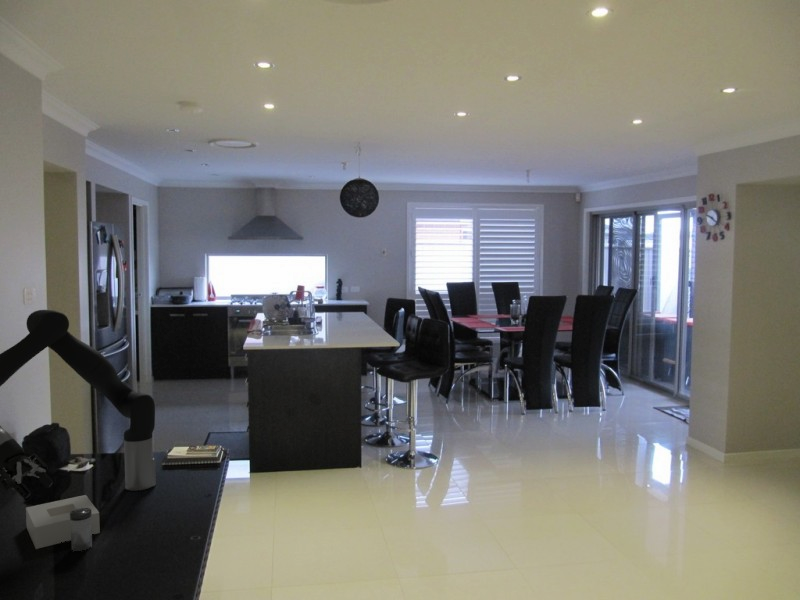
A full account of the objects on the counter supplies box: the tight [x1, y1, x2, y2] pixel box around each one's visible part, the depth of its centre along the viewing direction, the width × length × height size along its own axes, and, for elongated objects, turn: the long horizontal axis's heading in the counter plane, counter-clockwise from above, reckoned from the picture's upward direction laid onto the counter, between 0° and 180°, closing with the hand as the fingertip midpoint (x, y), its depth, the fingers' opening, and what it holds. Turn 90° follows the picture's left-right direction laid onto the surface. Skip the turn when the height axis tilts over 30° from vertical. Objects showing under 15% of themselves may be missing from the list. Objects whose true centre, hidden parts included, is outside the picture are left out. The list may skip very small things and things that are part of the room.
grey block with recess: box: [25, 494, 101, 550], centre depth 177 cm, size 16×18×6 cm
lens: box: [70, 508, 93, 552], centre depth 166 cm, size 5×5×10 cm
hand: (39, 490), depth 167 cm, fingers open, 8 cm apart
